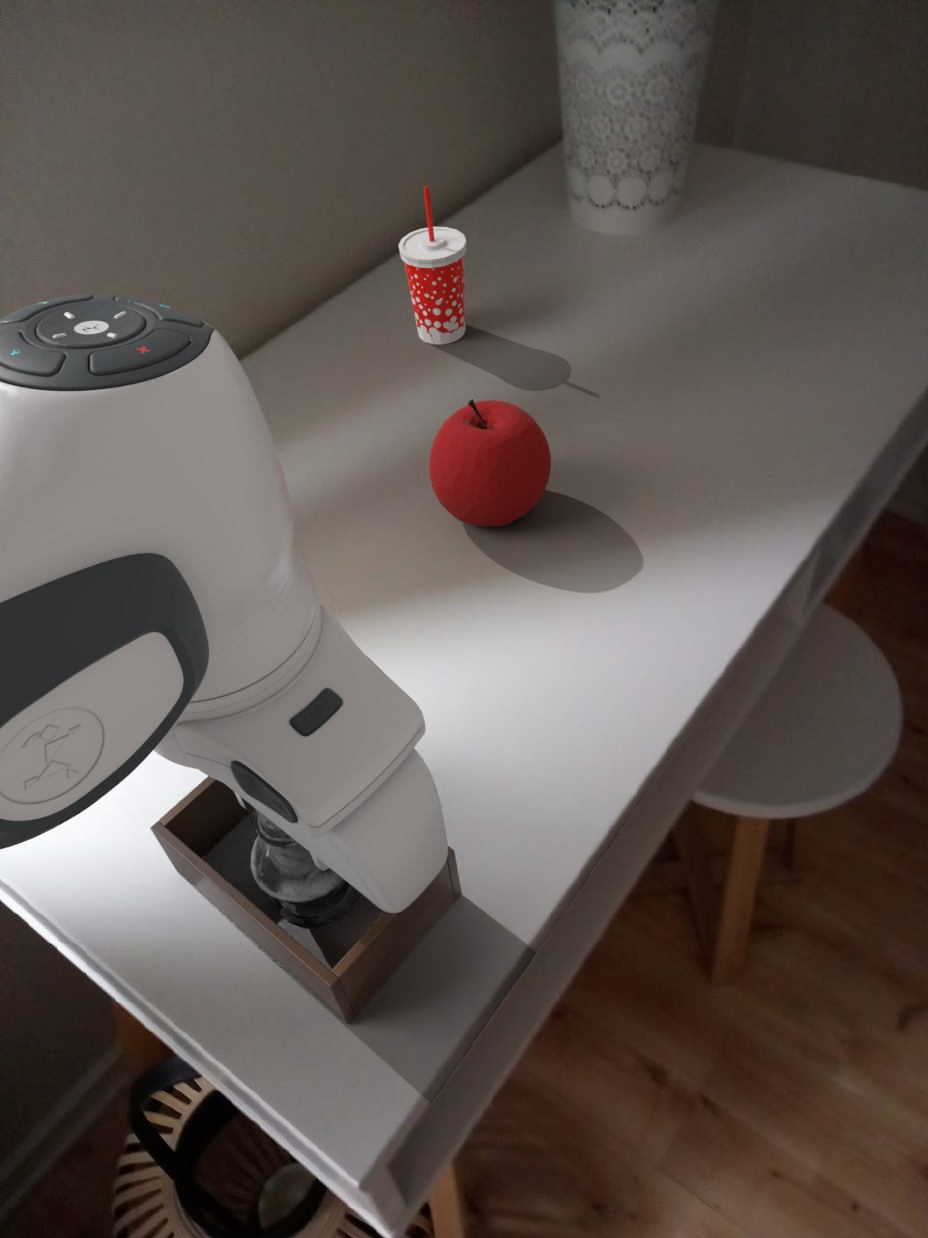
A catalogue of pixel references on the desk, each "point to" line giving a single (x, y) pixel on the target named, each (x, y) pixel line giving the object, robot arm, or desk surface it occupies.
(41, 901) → the desk surface
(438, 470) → the apple
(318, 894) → the grey stone turned piece
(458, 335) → the beverage cup
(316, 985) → the open wooden box
